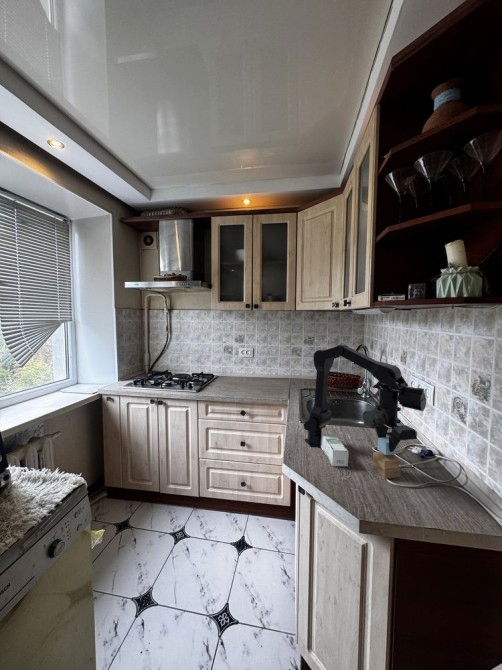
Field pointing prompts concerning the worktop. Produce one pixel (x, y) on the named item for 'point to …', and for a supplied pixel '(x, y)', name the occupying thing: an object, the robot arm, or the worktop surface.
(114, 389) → the worktop surface
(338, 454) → the syrup box
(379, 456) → the tower mid
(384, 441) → the blue block
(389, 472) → the tower base
